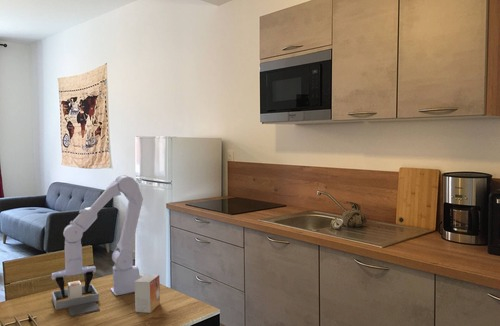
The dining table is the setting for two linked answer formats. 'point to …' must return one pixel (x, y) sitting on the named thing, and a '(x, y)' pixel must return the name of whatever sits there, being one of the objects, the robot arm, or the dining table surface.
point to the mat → (83, 309)
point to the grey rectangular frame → (76, 300)
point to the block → (74, 289)
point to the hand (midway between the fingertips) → (75, 294)
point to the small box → (147, 293)
